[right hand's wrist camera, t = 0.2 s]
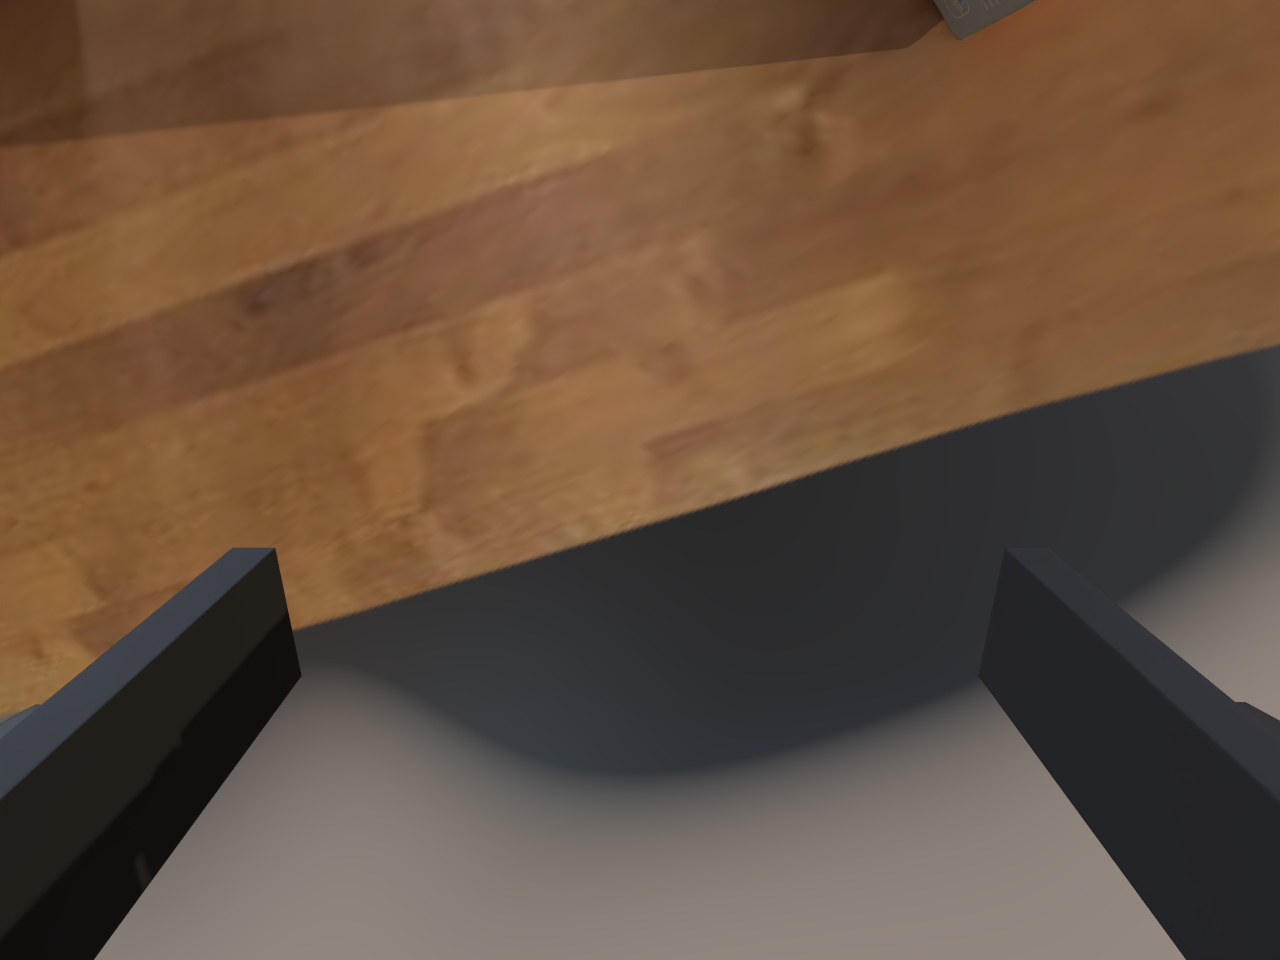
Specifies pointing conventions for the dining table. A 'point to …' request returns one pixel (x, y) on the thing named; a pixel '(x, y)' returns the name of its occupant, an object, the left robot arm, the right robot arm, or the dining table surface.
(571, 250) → the dining table surface
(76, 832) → the right robot arm
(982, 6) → the hard drive box
